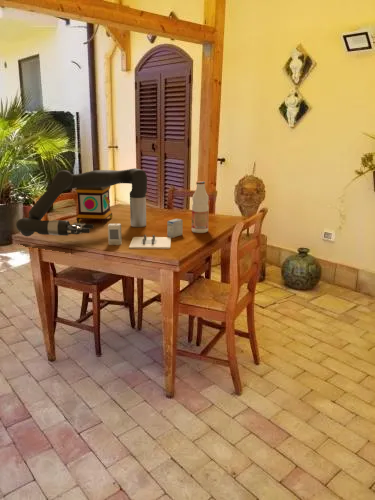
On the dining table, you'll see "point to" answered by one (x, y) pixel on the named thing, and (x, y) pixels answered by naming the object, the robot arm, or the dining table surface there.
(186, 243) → the dining table surface
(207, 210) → the fruit juice
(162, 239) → the pin tray
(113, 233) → the drive
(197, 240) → the dining table surface
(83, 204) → the decorative lantern
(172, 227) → the medicine box
